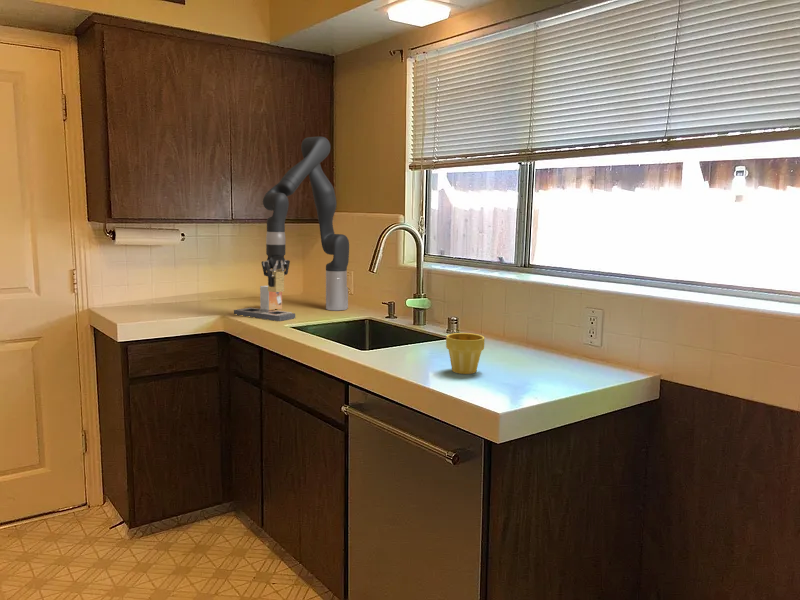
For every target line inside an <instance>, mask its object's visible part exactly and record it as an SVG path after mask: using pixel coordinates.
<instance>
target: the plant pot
mask: <svg viewBox="0 0 800 600" xmlns="http://www.w3.org/2000/svg"><path fill="white" fill-rule="evenodd" d="M445 340H446V341H445V347H446V349H447V350H448V353H449V360H450V366H451V371H452V372H453V373H455V374H458V375H459V374H460V375H471V374H475V373H477V372H478V371H477V369H478V368H479V367H478V366H479V362H480V358H481V355H482V351H484V349H485V340H486V339H485V336H483V335H481V334H477V333H472V332H471V333H470V332H457V333H456V332H455V333H449V334H447V335H446V338H445Z"/></svg>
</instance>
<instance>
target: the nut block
mask: <svg viewBox="0 0 800 600" xmlns="http://www.w3.org/2000/svg"><path fill="white" fill-rule="evenodd" d="M284 272H285V271H276V272H274V277H273V278H274V287H269V285H268V284H267V286H268V291H269V292H282V293H283V292H285V275H284ZM271 273H272V272H271Z"/></svg>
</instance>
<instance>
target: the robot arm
mask: <svg viewBox="0 0 800 600" xmlns="http://www.w3.org/2000/svg"><path fill="white" fill-rule="evenodd" d="M330 152H331V143H330V141H329V140H328V138H327V137H325V136H309V137H305V138H304V139H303V140H302V142H301V153H302V158H303V159H301V160H300V161H299V162H297V163H296V164H294V165H293V166H292V167H291V168H290V169H289V170H288V171H287V172H286V173H285V174H284V175H283V177H282V178H281V179H280V181H279V182H278V183H276V184H275V185H274V186H273V187H271V189H269V190H268V191H267V192H266V193H265V195H264V196H263V199H262V205H263V207H264V208H265V210H268V211H272V215H271V216H269V217H268V218H267V219H266V237H265V238H266V239H265V241H266V242H265V243H266V244H265V248H266V249H265V251H266V252H265V253H266V256H267V258H266V260H263V261H261V267H262V271H263V275H264V276H265V277H267V286H268V285H269V287H274V278H273V277H274V272H276V271H284V276H286V275H288V273H289V268H290V264H291V263H290V262H291V261H290V260H289V259H286V258H285V256H286V233H285V231H286V230H285V227H286V225H285V224H286V223H285V222H286V219H287V215H288V209H289V204H290V203H289V198H288V197H289V196H291V195H294V193H295V192H296V190H297V189H298V188H299V187H300V185H301V183H302V182H303V181H304V180H305V179H306V177H308V178H309V181H310V187H311V191H312V195H313V197H312V198H313V201H314V205H315V206H314V207H315V208H316V214H317V219H318V225H319V226H318V227H319V234H320V242H321V247H322V250H323V252H324V253H325V254H327V255H330V256H333V257H332V261H329V262H327V264H325V310H329V311H345V310H347V309H349V287H348V284H347V283H348V281H347V280H348V275H347V274H348V273H347V272H348V265H349V260H350V259H349V258H350V242H349V239H348V237H347V235H346V234H341V233H340V234H339V233H335V230H334V225H333V221H334V216H335V212H336V209H337V198H336V193H335V189H334V186H333V184H332V182H330V180H329V178H328V177H327V176H326V174H325V172H324V171H323V168H322V166H321V165H322V164H321V163H322V162H323V161H324V160H325V159H326V158H327V157H328V156H329V154H330ZM271 272H272V273H271Z"/></svg>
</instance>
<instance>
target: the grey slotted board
mask: <svg viewBox="0 0 800 600" xmlns="http://www.w3.org/2000/svg"><path fill="white" fill-rule="evenodd" d="M234 314H237V315H236V316H239V315H243V316H242V317H246V316H250V317H249V318H253V317H256V318H255V319H260V318H262V320H267V319H269V321H274V320H275V322H282V321H288V320H294V318H295V319H296V313H294V312H292V311H285V310H279V309H278V310H265V309H260V308H257V307H256V308H255V307H245V308H237V309H233V315H234Z"/></svg>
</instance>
